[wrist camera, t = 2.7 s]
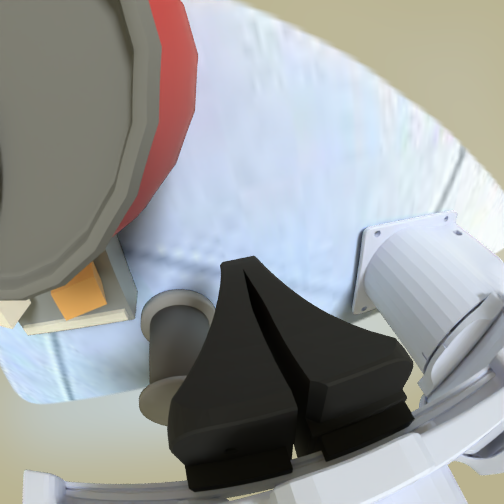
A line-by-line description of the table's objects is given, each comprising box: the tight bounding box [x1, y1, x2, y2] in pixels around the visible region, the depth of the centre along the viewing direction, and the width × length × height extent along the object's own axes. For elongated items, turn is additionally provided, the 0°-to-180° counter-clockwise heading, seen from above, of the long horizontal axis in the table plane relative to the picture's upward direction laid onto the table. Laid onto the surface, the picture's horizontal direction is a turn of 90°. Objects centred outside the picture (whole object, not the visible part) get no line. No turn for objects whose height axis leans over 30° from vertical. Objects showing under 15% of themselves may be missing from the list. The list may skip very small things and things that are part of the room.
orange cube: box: [51, 261, 107, 321], centre depth 12 cm, size 2×2×2 cm
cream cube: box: [0, 299, 31, 329], centre depth 12 cm, size 2×2×2 cm
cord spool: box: [139, 289, 215, 426], centre depth 17 cm, size 5×5×7 cm
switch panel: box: [18, 234, 138, 335], centre depth 14 cm, size 8×8×3 cm
